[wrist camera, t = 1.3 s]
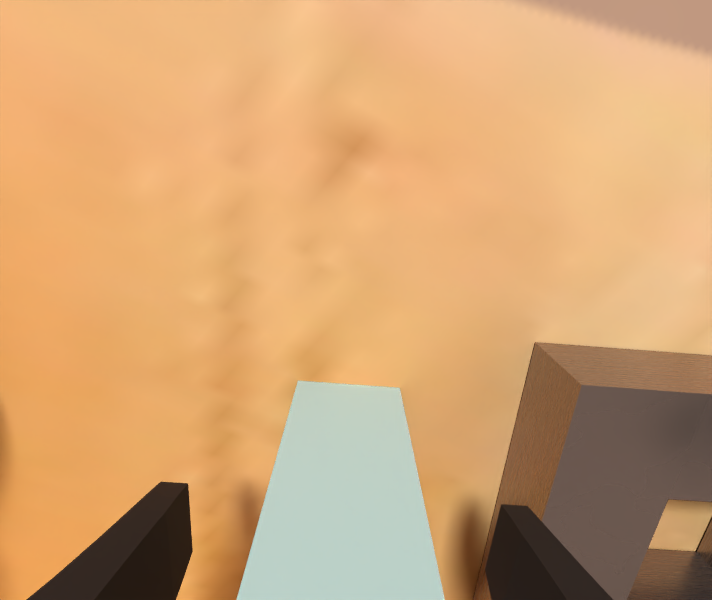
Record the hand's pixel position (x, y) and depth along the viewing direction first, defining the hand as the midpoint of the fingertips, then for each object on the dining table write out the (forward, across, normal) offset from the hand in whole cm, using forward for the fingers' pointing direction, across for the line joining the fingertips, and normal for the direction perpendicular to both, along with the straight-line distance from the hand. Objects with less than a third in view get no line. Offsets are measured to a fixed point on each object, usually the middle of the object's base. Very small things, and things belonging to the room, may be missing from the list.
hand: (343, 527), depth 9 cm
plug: (+4, 0, 0) cm, 4 cm away
